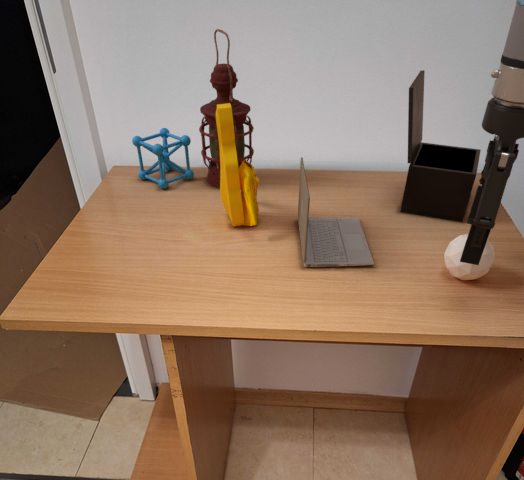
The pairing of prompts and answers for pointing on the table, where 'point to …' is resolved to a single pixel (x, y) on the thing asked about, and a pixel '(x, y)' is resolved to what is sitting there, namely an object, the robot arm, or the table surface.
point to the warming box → (440, 181)
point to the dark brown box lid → (415, 115)
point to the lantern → (224, 84)
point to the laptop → (329, 236)
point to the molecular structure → (163, 157)
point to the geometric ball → (466, 269)
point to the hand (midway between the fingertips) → (472, 242)
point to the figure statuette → (235, 174)
